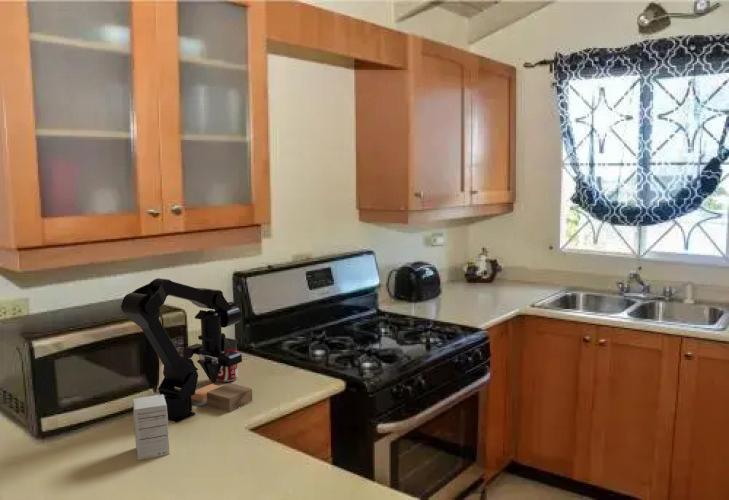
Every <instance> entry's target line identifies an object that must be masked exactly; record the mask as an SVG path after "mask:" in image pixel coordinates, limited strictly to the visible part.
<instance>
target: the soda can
mask: <svg viewBox="0 0 729 500" xmlns="http://www.w3.org/2000/svg"><path fill="white" fill-rule="evenodd" d="M229 351H234V352H238V347H236V350H233V349H227V351H223V352H222V353H226V352H229ZM238 369H239V367H238V364H235V365H233V366H230V367H224V366H221V369H220V371H219V374H218V378H217V381H219V382H222V383H232V382H234V381H236V380H237V379H238V377H239V372H238Z"/></svg>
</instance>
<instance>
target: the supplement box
mask: <svg viewBox="0 0 729 500" xmlns="http://www.w3.org/2000/svg"><path fill="white" fill-rule="evenodd" d="M164 397H165V395H160V394H156V395H149V396H144V397H143V396H142V397H137V398H133V399H132V410H133V421H134V422H133V423H134V424H133V425H134V436H135V437H134V438H135V448H136V456H137V460H139V461H141V460H147V459H152V458H160V457H162V456H163V457H164V456H168V455H170V453H171V452H170V439H169V420H168V415H167V404H166V401H165V398H164Z"/></svg>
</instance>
